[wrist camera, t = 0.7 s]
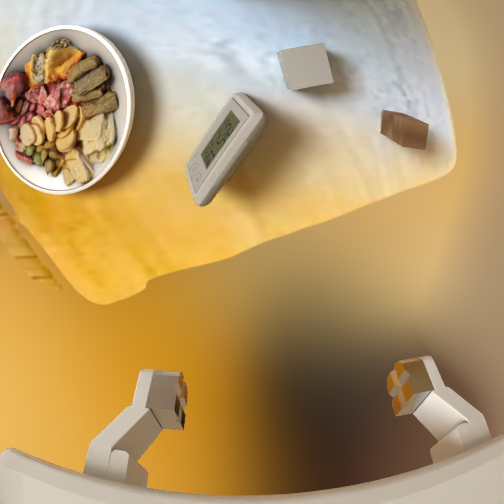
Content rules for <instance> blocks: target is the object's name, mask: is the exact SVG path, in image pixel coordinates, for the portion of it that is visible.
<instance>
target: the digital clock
mask: <svg viewBox="0 0 504 504" xmlns="http://www.w3.org/2000/svg"><path fill="white" fill-rule="evenodd" d="M267 122H268V120H267V116H266V114H265V113H264V112H263V111H262V110H261V109H260V108H259V107H258V106H257V105H256V104H255V103H254V102H253V101H252V100H251V99H250V98H248V97H247V96H246V95H245V94H244V93H242V92H240V93H235V94H233V95H232V96H231V98H230V99H229V100H228V102H227V103H226V105H225V106H224V107H223V109H222V110H221V112H220V113H219V115H218V116H217V117H216V119H215V120H214V122H213V123H212V125H211V126H210V128H209V129H208V131H207V132H206V134H205V135H204V137H203V138H202V140H201V141H200V143H199V144H198V146H197V147H196V149H195V151H194V152H193V154H192V155H191V157H190V158H189V160H188V162H187V164H186V166H185V171H186V175H187V179H188V182H189V186H190V190H191V193H192V196H193V199H194V201H195V203H196V204H197V206H206V205H208V204H209V203H210V202H211V201H212V200H213V198H214V197H215V196H216V194H217V193H218V191H219V190H220V189H221V187H222V186H223V184H224V183H225V182H226V181H228V180H229V179H230V178H231V177H232V175H233V174H234V172H235V171H236V170H237V168H238V167H239V165H240V164H241V163H242V161H243V160H244V159H245V157H246V156H247V155H248V153H249V152H250V150H251V149H252V148H253V146H254V145H255V144H256V142H257V141H258V140H259V138H260V137H261V132H262V131H263V129H264V128H265V127H266V125H267Z"/></svg>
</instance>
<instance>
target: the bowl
mask: <svg viewBox="0 0 504 504" xmlns="http://www.w3.org/2000/svg"><path fill="white" fill-rule="evenodd" d="M134 110H135V94H134V86H133V81H132V77H131V74H130V71H129V68H128V66H127V63H126V61H125V59H124V58H123V56H122V54H121V53H120V51H119V50H118V49H117V48H116V46H115V45H114V44H113V43H112V42H111V41H110V40H109V39H107V38H106V37H105V36H103V35H102V34H100V33H98V32H96V31H94V30H92V29H89V28H86V27H82V26H76V25H61V26H55V27H51V28H48V29H45V30H43V31H41V32H39V33H37V34H35V35H33V36H32V37H30V38H29V39H28V40H26V41H25V42H24V43H23V44H22V45H21V46H20V47H19V48H18V49H17V50H16V51H15V52H14V54H13V55H12V56H11V58H10V59H9V60H8V62H7V64H6V65H5V67H4V69H3V71H2V73H1V75H0V152H1V154H2V156H3V158H4V160H5V162H6V163H7V165H8V166H9V168H10V169H11V170H12V171H13V173H14V174H15V175H16V176H17V177H18V178H19V179H21V180H22V181H23V182H24V183H26V184H27V185H29V186H30V187H32V188H34V189H36V190H39V191H41V192H44V193H48V194H55V195H65V194H72V193H76V192H79V191H82V190H84V189H86V188H88V187H90V186H92V185H93V184H95V183H96V182H97V181H99V180H100V179H101V178H102V177H103V176H104V175H105V174H106V173H107V172H108V171H109V170H110V169H111V168H112V167H113V165H114V164H115V163H116V161H117V160H118V158H119V157H120V155H121V153H122V152H123V150H124V148H125V146H126V143H127V141H128V138H129V135H130V132H131V129H132V124H133V119H134Z"/></svg>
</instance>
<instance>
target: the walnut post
mask: <svg viewBox="0 0 504 504" xmlns="http://www.w3.org/2000/svg"><path fill="white" fill-rule="evenodd" d="M428 125H429V124H426V123H424V122H422V121H420V120H417V119H415V118H413V117H411V116H408V115H406V114H403V113H400V112H393V111H387V110H382V112H381V122H380V131H379V132H380V133H382V134H383V135H385V136H387V137H388V138H390V139H392V140H393V141H395V142H396V143H398V144H399V145H401V146H402V147H409V148H417V149H424V150H425V145H426V139H427V132H428Z"/></svg>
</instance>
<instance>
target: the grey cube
mask: <svg viewBox="0 0 504 504" xmlns="http://www.w3.org/2000/svg"><path fill="white" fill-rule="evenodd" d="M277 55H278V59H279V62H280V66H281V69H282V73H283V76H284V80H285V83H286V87H287V88H288V89H290V90H292V91H293V90H297V89H302V88H307V87H313V86H318V85H324V84H329V83H334V82H333V77H332V73H331V69H330V65H329V61H328V57H327V53H326V49H325V46H324V43H320V44H314V45H308V46H302V47H296V48H291V49H286V50H281V51H279V52H277Z"/></svg>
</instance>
